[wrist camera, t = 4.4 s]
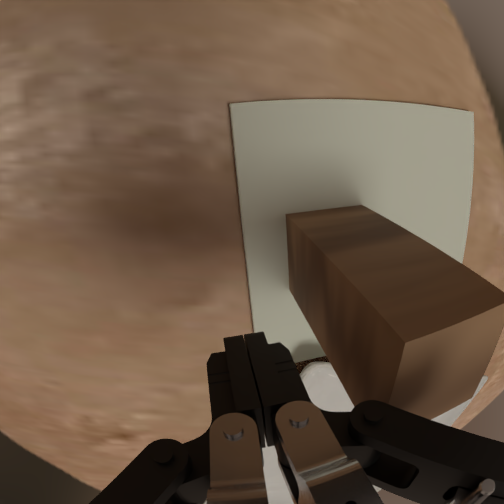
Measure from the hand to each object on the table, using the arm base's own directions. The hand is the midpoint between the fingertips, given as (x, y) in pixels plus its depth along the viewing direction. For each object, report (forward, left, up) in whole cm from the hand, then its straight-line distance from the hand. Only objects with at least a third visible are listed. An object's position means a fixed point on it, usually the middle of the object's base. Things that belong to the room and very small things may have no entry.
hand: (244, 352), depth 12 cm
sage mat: (0, +10, -8) cm, 13 cm away
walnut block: (0, +6, -8) cm, 10 cm away
